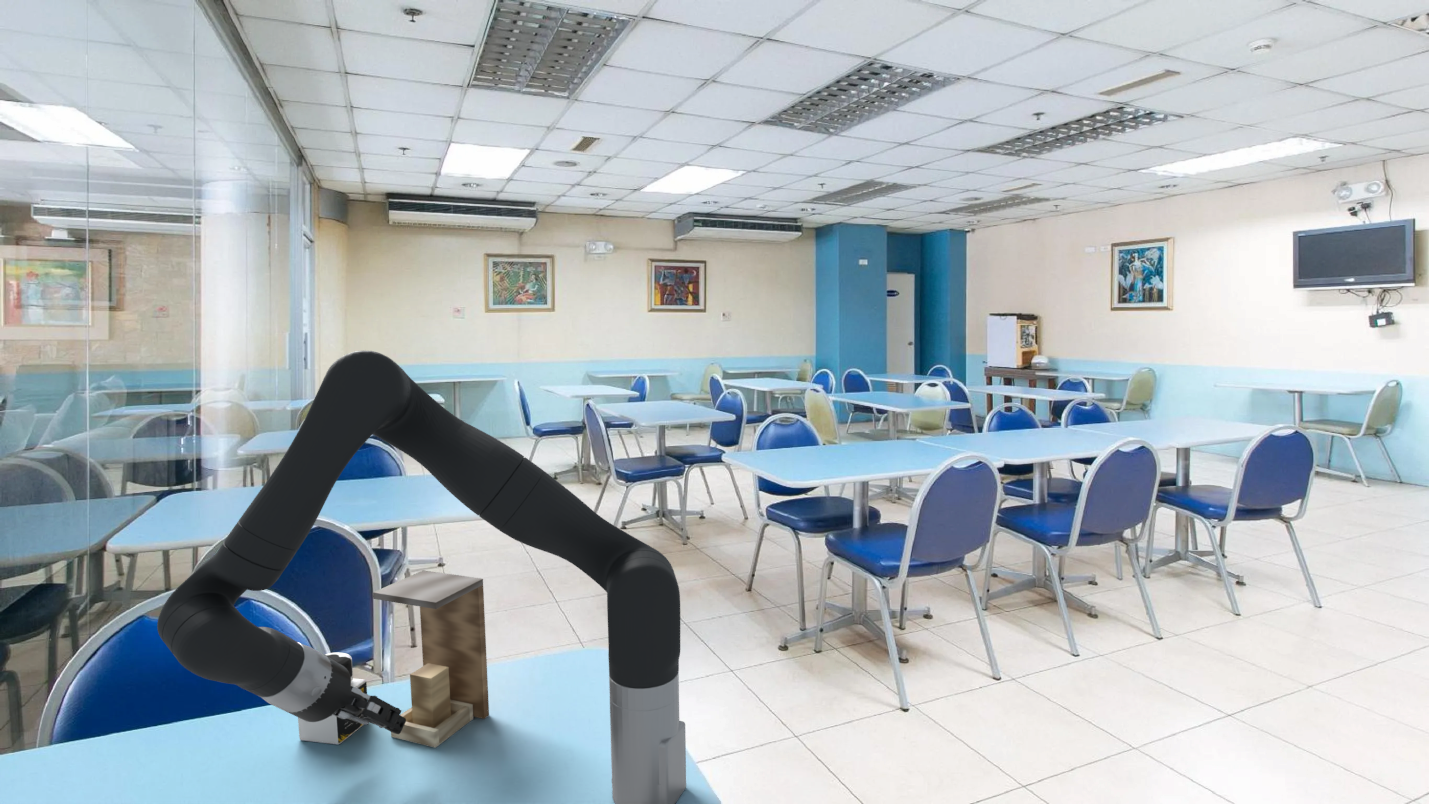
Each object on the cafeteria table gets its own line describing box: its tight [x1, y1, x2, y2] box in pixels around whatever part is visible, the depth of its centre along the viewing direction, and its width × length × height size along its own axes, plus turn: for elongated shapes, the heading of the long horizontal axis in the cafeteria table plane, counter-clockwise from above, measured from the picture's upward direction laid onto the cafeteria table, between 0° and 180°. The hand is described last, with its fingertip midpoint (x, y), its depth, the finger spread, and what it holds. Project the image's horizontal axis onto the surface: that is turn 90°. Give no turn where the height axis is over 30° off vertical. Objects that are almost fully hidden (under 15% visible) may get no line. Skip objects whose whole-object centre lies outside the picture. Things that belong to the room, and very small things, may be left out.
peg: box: [409, 663, 451, 728], centre depth 116 cm, size 4×4×10 cm
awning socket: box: [372, 570, 490, 749], centre depth 116 cm, size 12×11×23 cm
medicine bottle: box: [297, 651, 368, 745], centre depth 116 cm, size 7×7×12 cm
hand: (378, 720), depth 106 cm, fingers open, 8 cm apart
